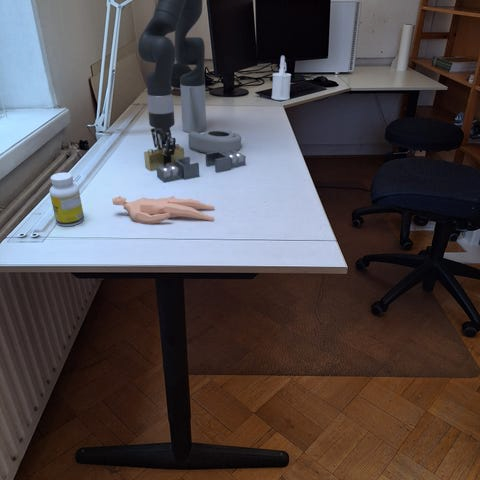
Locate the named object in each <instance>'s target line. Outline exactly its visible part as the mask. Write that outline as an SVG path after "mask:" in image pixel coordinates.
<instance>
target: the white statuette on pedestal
mask: <svg viewBox="0 0 480 480" xmlns="http://www.w3.org/2000/svg"><path fill="white" fill-rule="evenodd" d="M291 76H292V74H291V73H288V72H287V62H286V57H285V55H281V56H280V64H279V69H278V72H274V73H272V90H271V99H273V100H276V101H286V100H290V98H291V97H290V91H291V78H292V77H291Z"/></svg>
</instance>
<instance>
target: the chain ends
mask: <svg viewBox="0 0 480 480" xmlns="http://www.w3.org/2000/svg"><path fill="white" fill-rule="evenodd" d="M173 161H174V164H172V163H167V164H166V165H163V164H160V165H158V167H156V169H157V170H156V178H158V179H159V180H160V181H162V183H169V182H172V181H173V182H174V181H177V180H182V179H183V180H184V181H185V180H189V179H194V178H198V177H200V163H198V162H195V163H191V158H190V156H184V158H179V159H174V160H173ZM205 166H206V167H211V166H212V167H215V169H214V170H215V171H214V172H215V173H217V174H218V173H221V172H227V171H230V170H232V169H235V168H239V167H244V166H246V155H244V154H242V153H240V152H238V150H237V151H235V150H232V151H231V152H225V153H222V152H221V151H216V152H211V153H205Z"/></svg>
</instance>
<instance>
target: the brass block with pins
mask: <svg viewBox="0 0 480 480" xmlns="http://www.w3.org/2000/svg"><path fill="white" fill-rule="evenodd" d="M165 150H166V148H165ZM171 150H172V149H171ZM143 155H144V166H145V169H147V170H149V171H150V172H152V171H157V169H156V167H158V165H160V164H163V165H164V155H163V149H157V148H156V149H151V148H150V149H147V151H144V152H143ZM179 158H185V148H184V147H182V146H181V145H180V144H178V143H175V152H174V155H171V163H172V164H174V161H173V160H174V159H179Z"/></svg>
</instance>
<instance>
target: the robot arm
mask: <svg viewBox="0 0 480 480" xmlns="http://www.w3.org/2000/svg"><path fill="white" fill-rule="evenodd" d="M202 12H203V0H157V2H156V6H155V8H154V12H153V15H152V16H151V19H150V20H149V21H148V23H147V25H146V26H145V28H144V29H143V32H142V33H141V35H140V36H139V39H138V44H137V51H138V55H139V57H140V58H141V59H142V60H143V61H145V62H147V63H151V64H152V63H153V64H155V68H154V71H151V72H148V73H147V75H146V90H147V91H146V93H147V111H148V123H149V126H150V127H151V128H150V133H151V137H152V141H153V146H154V148H155V149H156V150H157V149H163V155H164V165H166V164H167V163H171V155H174V152H175V144H177V143H176V141H177V139H176V138H175V137H172V135H173V134H172V132H171V128H172V127H174V126H175V123H176V121H175V109H174V108H175V107H174V105H175V104H174V98H173V95H172V90H173V89H172V88H173V87H172V86H171V76H172V72H173V66H174V64H175V61H176V64H177V63H178V64H180V65H188V66H195V68H193V69H191V70H192V71H191V72H189V73H187V74H184V75H182V76H181V77H180V88H181V96H180V101H181V122H182V123H181V125H182V131H184V132H187V133H190V132H191V131H195V132H197V133H202V132H206V130H207V113H206V111H207V110H206V80H205V77H206V76H205V75H206V74H205V63H206V62H205V57H206V55H205V52H206V51H205V49H206V46H205V41H204V39H203V38H202V37H200V36H199V37H198V36H196V37H194V36H193V37H192V36H189V37H187V35H188V33H189V31H191V29H192V28H193V27H195V25H196V24H197V22H198V21H199V20H200V17H201V15H202ZM171 33H174V41H172V39H170V38H169V37H167V35H168V34H171ZM165 148H166V150H165ZM171 149H172V150H171Z"/></svg>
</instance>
